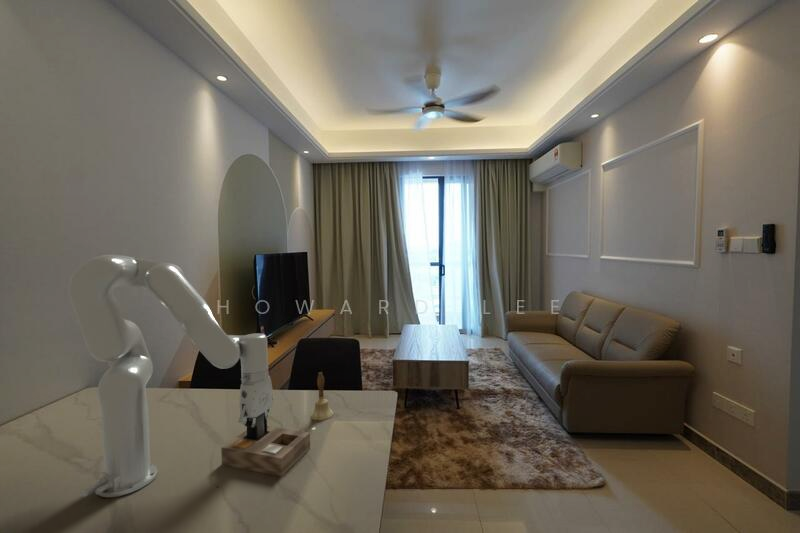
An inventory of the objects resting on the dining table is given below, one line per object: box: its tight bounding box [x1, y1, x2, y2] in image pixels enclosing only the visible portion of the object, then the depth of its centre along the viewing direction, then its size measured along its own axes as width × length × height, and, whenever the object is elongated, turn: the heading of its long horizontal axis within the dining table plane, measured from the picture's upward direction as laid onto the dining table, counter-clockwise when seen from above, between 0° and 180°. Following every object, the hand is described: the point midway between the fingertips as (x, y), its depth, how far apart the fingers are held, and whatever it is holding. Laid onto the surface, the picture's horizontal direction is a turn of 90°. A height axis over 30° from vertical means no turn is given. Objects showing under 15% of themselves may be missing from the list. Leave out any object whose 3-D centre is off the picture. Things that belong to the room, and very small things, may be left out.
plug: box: [249, 413, 265, 441], centre depth 105 cm, size 4×4×9 cm
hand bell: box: [310, 371, 334, 421], centre depth 129 cm, size 8×8×16 cm
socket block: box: [220, 425, 311, 477], centre depth 103 cm, size 20×14×5 cm
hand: (257, 434), depth 106 cm, fingers closed on plug, 3 cm apart
